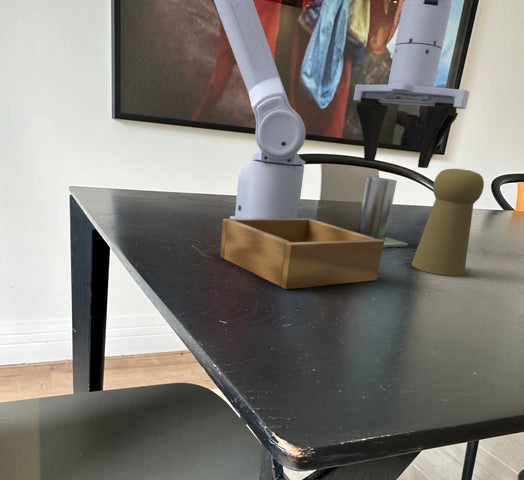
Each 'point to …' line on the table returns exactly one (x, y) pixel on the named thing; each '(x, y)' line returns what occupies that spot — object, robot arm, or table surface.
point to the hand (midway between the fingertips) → (395, 164)
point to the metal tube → (376, 207)
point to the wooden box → (300, 251)
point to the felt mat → (393, 243)
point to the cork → (449, 223)
